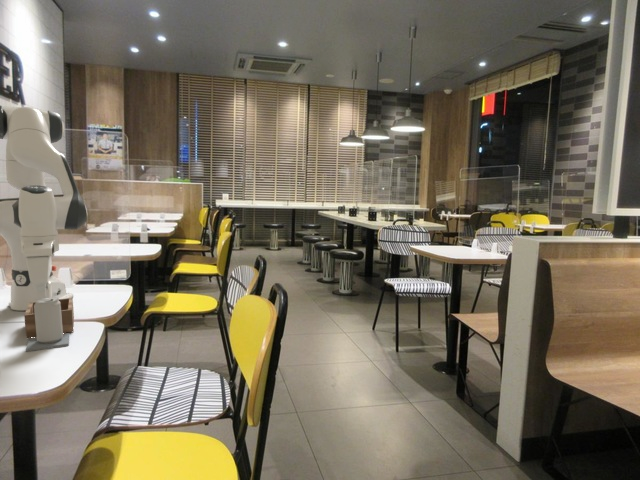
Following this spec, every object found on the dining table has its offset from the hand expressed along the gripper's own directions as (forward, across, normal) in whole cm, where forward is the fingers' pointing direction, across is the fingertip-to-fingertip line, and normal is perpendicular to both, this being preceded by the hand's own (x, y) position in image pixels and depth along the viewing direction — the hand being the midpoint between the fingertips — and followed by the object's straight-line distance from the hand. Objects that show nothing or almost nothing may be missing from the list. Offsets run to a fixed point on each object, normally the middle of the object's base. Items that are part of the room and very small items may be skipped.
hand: (43, 293), depth 123 cm
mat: (+14, +1, +1) cm, 14 cm away
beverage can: (+14, 0, +1) cm, 14 cm away
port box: (+15, -14, 0) cm, 20 cm away
